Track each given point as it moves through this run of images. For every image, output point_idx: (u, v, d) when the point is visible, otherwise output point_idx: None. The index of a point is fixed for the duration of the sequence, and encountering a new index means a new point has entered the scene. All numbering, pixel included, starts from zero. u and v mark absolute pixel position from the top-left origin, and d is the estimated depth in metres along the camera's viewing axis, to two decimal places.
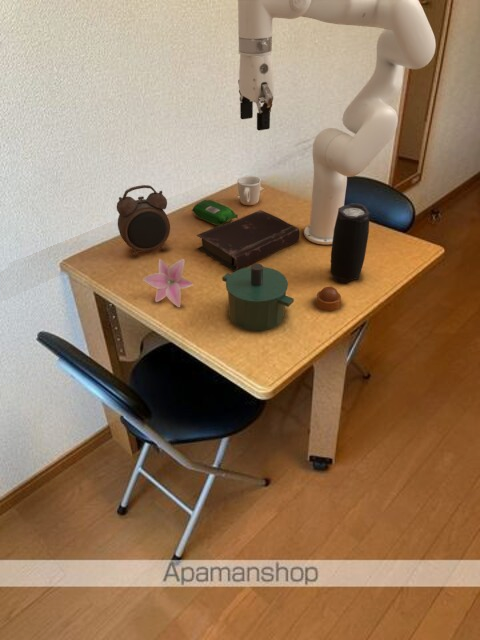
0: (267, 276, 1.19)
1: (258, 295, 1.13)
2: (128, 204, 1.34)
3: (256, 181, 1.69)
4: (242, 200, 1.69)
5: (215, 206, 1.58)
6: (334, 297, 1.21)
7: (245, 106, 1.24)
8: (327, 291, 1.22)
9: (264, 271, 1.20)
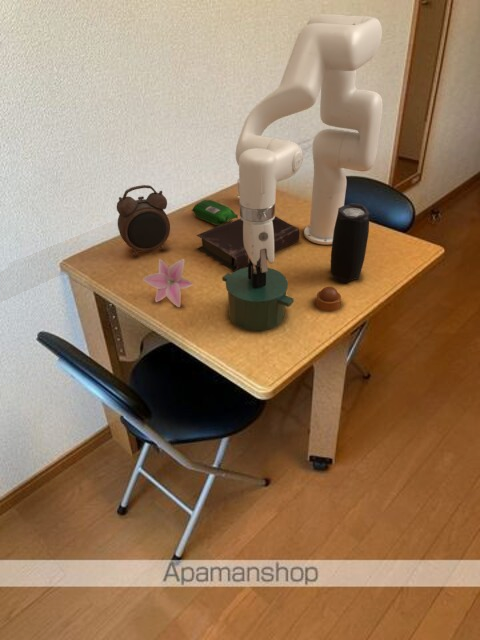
0: (267, 276, 1.19)
1: (258, 295, 1.13)
2: (128, 204, 1.34)
3: None
4: None
5: (215, 206, 1.58)
6: (334, 297, 1.21)
7: None
8: (327, 291, 1.22)
9: None
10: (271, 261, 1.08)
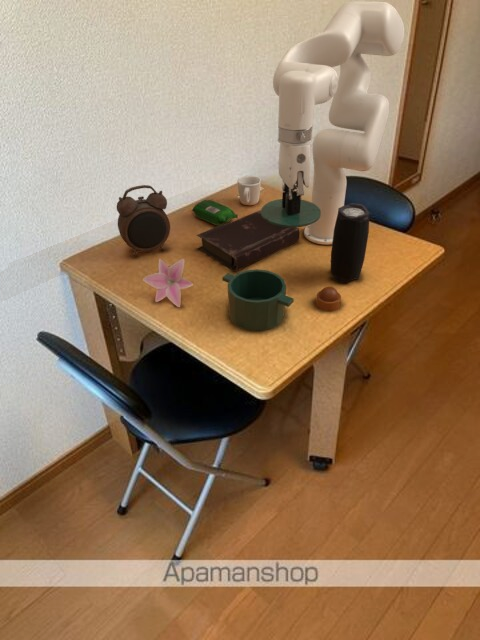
0: (300, 206, 1.23)
1: (293, 220, 1.17)
2: (128, 204, 1.34)
3: (256, 181, 1.69)
4: (242, 200, 1.69)
5: (215, 206, 1.58)
6: (334, 297, 1.21)
7: None
8: (327, 291, 1.22)
9: None
10: (307, 185, 1.12)
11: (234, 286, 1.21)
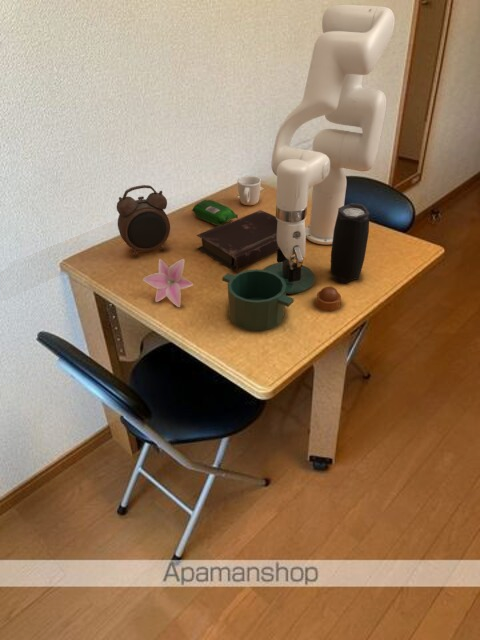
0: None
1: (289, 287, 1.29)
2: (128, 204, 1.34)
3: (256, 181, 1.69)
4: (242, 200, 1.69)
5: (215, 206, 1.58)
6: (334, 297, 1.21)
7: (281, 252, 1.34)
8: (327, 291, 1.22)
9: None
10: (302, 256, 1.24)
11: (234, 286, 1.21)
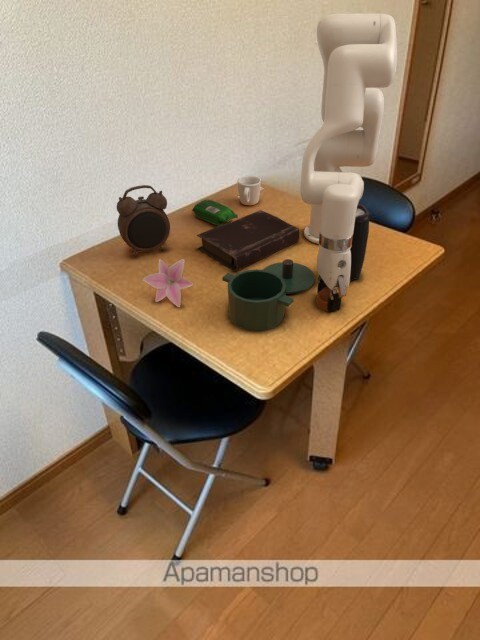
0: (296, 270, 1.35)
1: (289, 287, 1.29)
2: (128, 204, 1.34)
3: (256, 181, 1.69)
4: (242, 200, 1.69)
5: (215, 206, 1.58)
6: None
7: (323, 286, 1.25)
8: (327, 291, 1.22)
9: (292, 266, 1.37)
10: (346, 286, 1.16)
11: (234, 286, 1.21)
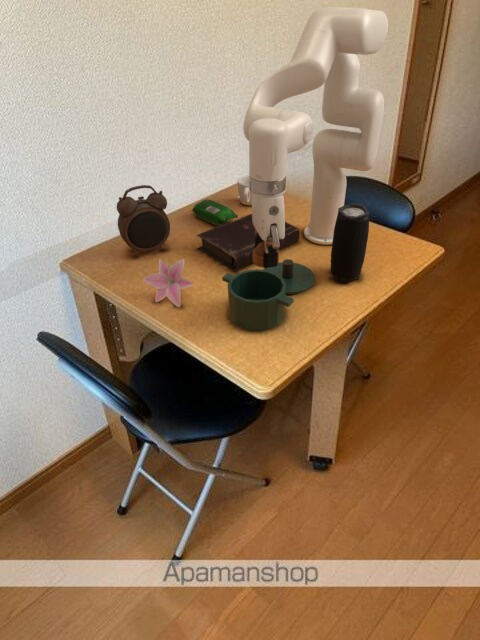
0: (296, 270, 1.35)
1: (289, 287, 1.29)
2: (128, 204, 1.34)
3: None
4: (242, 200, 1.69)
5: (215, 206, 1.58)
6: None
7: (260, 241, 1.13)
8: (263, 245, 1.10)
9: (292, 266, 1.37)
10: (281, 237, 1.05)
11: (234, 286, 1.21)
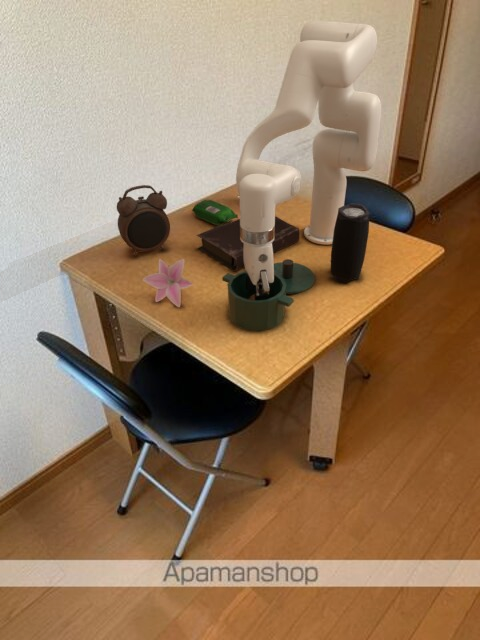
0: (296, 270, 1.35)
1: (289, 287, 1.29)
2: (128, 204, 1.34)
3: None
4: None
5: (215, 206, 1.58)
6: None
7: (251, 279, 1.20)
8: (254, 299, 1.19)
9: (292, 266, 1.37)
10: (271, 281, 1.11)
11: (234, 286, 1.21)
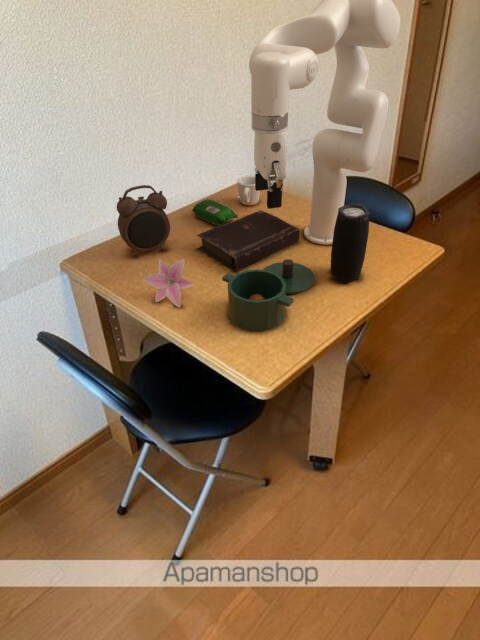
0: (296, 270, 1.35)
1: (289, 287, 1.29)
2: (128, 204, 1.34)
3: None
4: (242, 200, 1.69)
5: (215, 206, 1.58)
6: None
7: (260, 178, 1.14)
8: (254, 299, 1.19)
9: (292, 266, 1.37)
10: (283, 175, 1.05)
11: (234, 286, 1.21)
